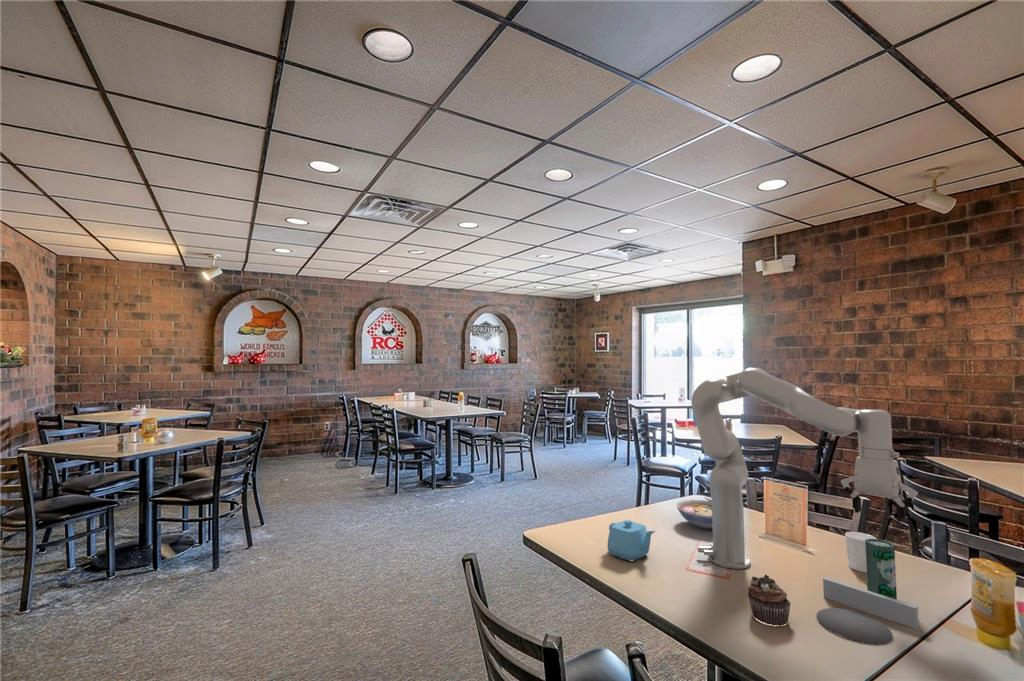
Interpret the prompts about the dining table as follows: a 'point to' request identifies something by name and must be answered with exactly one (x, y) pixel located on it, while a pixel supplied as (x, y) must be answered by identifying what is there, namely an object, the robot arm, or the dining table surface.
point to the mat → (854, 625)
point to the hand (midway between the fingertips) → (878, 516)
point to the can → (881, 567)
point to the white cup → (857, 550)
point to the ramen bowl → (697, 512)
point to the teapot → (628, 540)
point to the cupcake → (768, 601)
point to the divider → (871, 602)
